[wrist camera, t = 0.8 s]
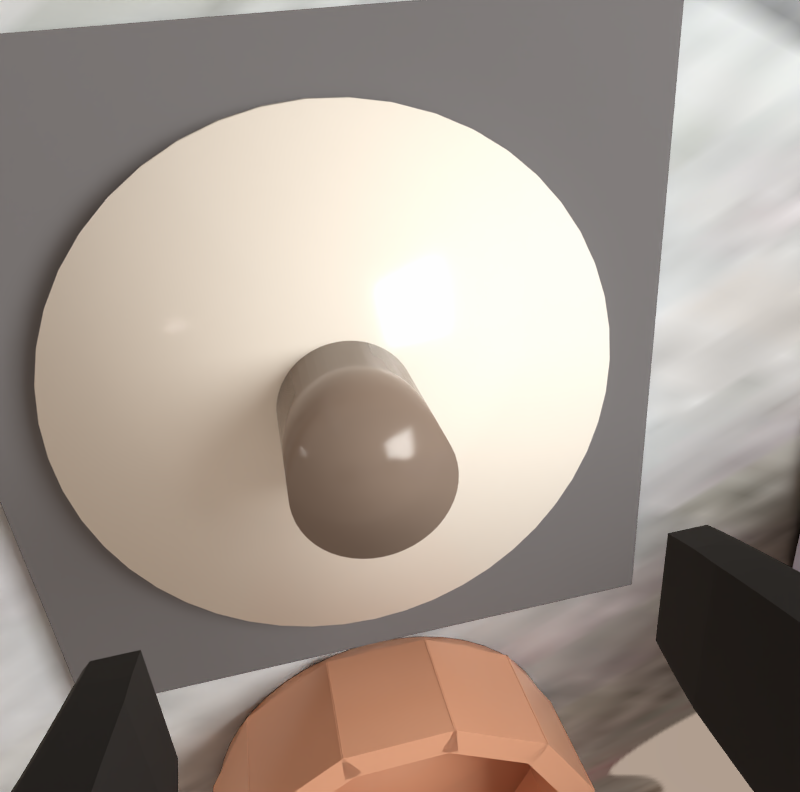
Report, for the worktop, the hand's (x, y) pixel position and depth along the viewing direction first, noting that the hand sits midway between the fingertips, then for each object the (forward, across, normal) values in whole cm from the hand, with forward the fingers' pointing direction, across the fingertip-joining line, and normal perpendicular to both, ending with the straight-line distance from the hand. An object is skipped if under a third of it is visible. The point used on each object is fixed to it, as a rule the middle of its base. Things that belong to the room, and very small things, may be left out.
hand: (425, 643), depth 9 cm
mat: (+8, 0, 0) cm, 9 cm away
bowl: (+8, 0, +14) cm, 16 cm away
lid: (+8, 0, 0) cm, 8 cm away
